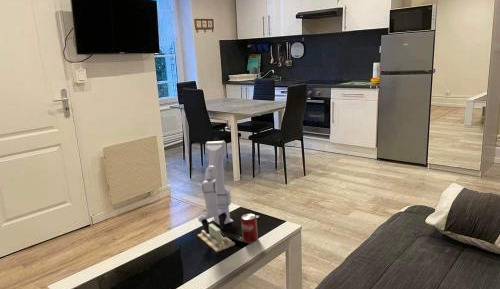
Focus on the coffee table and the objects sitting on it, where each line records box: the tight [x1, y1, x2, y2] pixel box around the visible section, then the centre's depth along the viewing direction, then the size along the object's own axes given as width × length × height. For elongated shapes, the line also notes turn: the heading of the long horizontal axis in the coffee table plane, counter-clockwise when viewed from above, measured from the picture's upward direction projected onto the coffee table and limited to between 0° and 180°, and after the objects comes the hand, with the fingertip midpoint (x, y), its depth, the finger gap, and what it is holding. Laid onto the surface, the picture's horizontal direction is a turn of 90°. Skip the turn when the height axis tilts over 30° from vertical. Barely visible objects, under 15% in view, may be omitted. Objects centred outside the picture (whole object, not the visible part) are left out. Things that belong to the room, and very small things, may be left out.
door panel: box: [209, 223, 222, 242], centre depth 176 cm, size 9×2×6 cm, turn 33°
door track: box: [197, 229, 236, 253], centre depth 177 cm, size 20×10×2 cm, turn 33°
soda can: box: [240, 213, 259, 244], centre depth 174 cm, size 7×7×12 cm
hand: (214, 230), depth 176 cm, fingers open, 7 cm apart
